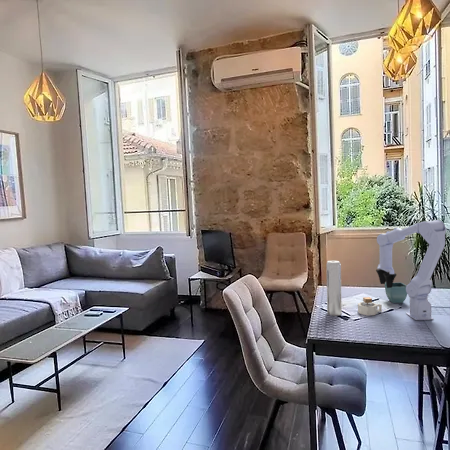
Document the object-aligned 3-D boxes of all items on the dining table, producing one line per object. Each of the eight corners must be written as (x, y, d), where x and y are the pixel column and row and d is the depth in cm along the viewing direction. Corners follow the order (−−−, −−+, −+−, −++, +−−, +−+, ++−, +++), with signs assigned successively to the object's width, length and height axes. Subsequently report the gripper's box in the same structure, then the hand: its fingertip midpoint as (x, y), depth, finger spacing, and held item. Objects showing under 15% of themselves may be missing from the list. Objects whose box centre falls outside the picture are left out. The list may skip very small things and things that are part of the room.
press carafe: (384, 314, 182) (384, 306, 182) (362, 315, 182) (362, 307, 182) (377, 309, 190) (377, 301, 190) (356, 310, 190) (356, 302, 190)
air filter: (342, 315, 183) (341, 262, 181) (327, 315, 184) (326, 262, 182) (341, 311, 189) (340, 259, 187) (327, 311, 190) (326, 260, 188)
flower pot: (408, 304, 196) (408, 286, 196) (390, 304, 197) (390, 286, 196) (401, 299, 205) (401, 282, 204) (384, 299, 205) (384, 282, 205)
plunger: (374, 312, 183) (374, 299, 183) (364, 312, 183) (364, 299, 183) (370, 309, 188) (370, 296, 188) (360, 309, 188) (360, 296, 188)
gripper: (371, 256, 199) (372, 282, 200) (383, 261, 185) (383, 289, 186) (385, 255, 199) (386, 281, 200) (398, 260, 185) (398, 289, 186)
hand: (386, 285), depth 193 cm, fingers open, 7 cm apart
